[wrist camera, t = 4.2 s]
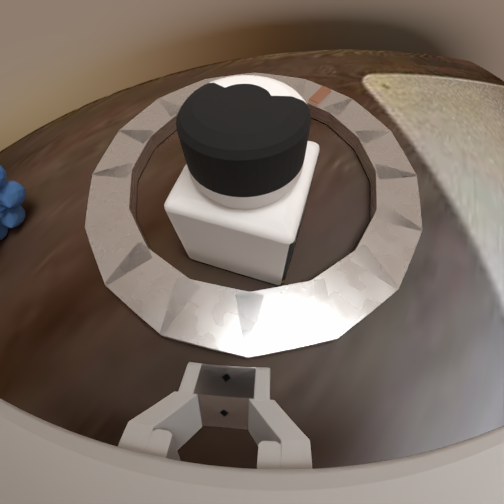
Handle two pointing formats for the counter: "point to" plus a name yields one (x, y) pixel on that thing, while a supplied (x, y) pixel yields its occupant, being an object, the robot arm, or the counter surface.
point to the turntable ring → (268, 300)
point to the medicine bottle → (243, 175)
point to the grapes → (10, 204)
